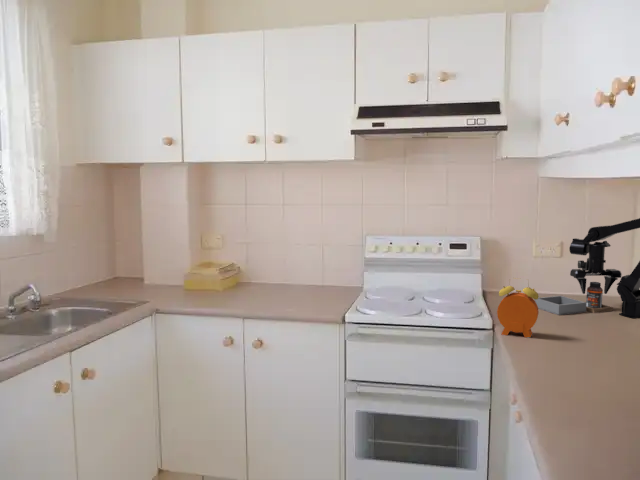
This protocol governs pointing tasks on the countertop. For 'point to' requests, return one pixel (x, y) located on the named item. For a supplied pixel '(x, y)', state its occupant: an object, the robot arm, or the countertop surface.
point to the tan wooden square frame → (600, 309)
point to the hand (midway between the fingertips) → (594, 293)
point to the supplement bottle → (594, 295)
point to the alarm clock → (518, 310)
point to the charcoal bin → (561, 305)
